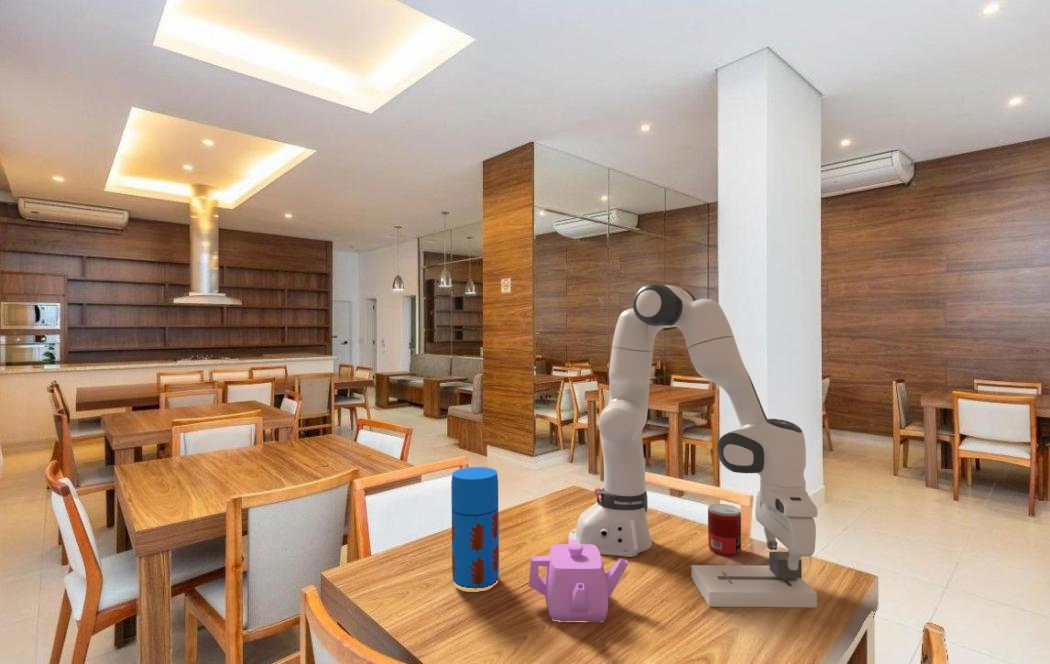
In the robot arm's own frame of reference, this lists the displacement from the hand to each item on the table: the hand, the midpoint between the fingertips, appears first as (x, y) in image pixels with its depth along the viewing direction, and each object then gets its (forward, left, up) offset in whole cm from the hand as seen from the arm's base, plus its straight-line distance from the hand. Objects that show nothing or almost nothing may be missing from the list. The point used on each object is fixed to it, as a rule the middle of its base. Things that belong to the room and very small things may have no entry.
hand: (781, 558), depth 109 cm
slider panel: (-7, 0, -7) cm, 10 cm away
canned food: (-5, +21, -8) cm, 23 cm away
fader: (+1, 0, -4) cm, 4 cm away
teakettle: (-45, -6, -8) cm, 46 cm away
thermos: (-68, +4, -8) cm, 68 cm away
